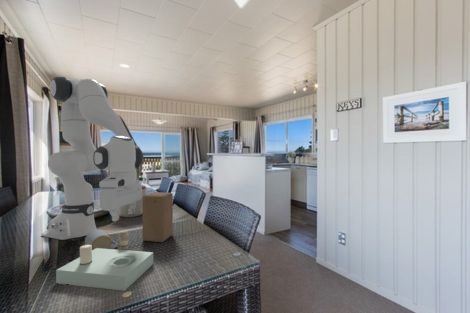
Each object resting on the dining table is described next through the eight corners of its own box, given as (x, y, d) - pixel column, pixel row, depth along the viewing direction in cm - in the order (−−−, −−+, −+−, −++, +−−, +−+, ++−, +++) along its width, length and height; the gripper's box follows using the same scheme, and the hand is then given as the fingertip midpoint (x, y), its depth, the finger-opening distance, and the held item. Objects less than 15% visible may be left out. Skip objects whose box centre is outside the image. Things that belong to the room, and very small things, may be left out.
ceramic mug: (91, 257, 86) (92, 236, 86) (84, 251, 92) (84, 231, 92) (121, 249, 94) (121, 230, 94) (112, 243, 100) (113, 225, 100)
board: (56, 283, 69) (56, 253, 69) (96, 259, 85) (96, 234, 85) (124, 290, 66) (124, 258, 66) (153, 263, 82) (153, 238, 81)
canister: (121, 211, 152) (121, 179, 151) (150, 211, 154) (150, 178, 153) (110, 219, 134) (109, 182, 133) (143, 219, 136) (142, 182, 135)
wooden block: (162, 243, 100) (162, 196, 100) (141, 241, 102) (141, 195, 102) (173, 235, 110) (173, 192, 109) (153, 233, 112) (153, 191, 111)
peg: (116, 257, 86) (116, 233, 86) (122, 253, 90) (122, 230, 89) (124, 258, 86) (124, 233, 86) (130, 254, 89) (130, 230, 89)
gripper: (132, 176, 98) (132, 210, 98) (95, 183, 78) (96, 224, 78) (146, 176, 97) (146, 210, 97) (112, 183, 77) (113, 225, 77)
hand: (124, 217), depth 87 cm, fingers open, 8 cm apart
